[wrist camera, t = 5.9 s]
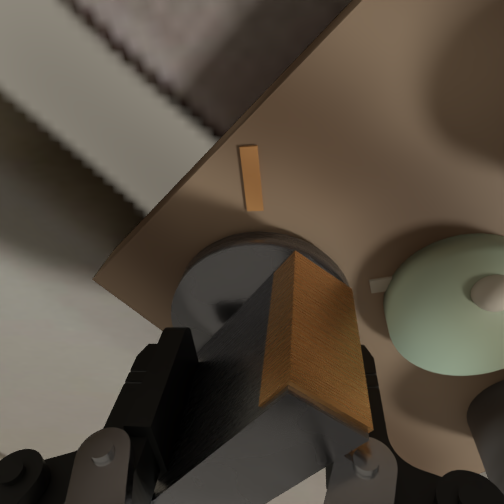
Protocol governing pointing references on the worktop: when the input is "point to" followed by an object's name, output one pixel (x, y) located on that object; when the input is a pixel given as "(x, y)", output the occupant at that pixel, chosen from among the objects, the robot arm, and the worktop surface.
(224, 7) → the worktop surface
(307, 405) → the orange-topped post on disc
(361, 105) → the tribrach base
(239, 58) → the worktop surface
